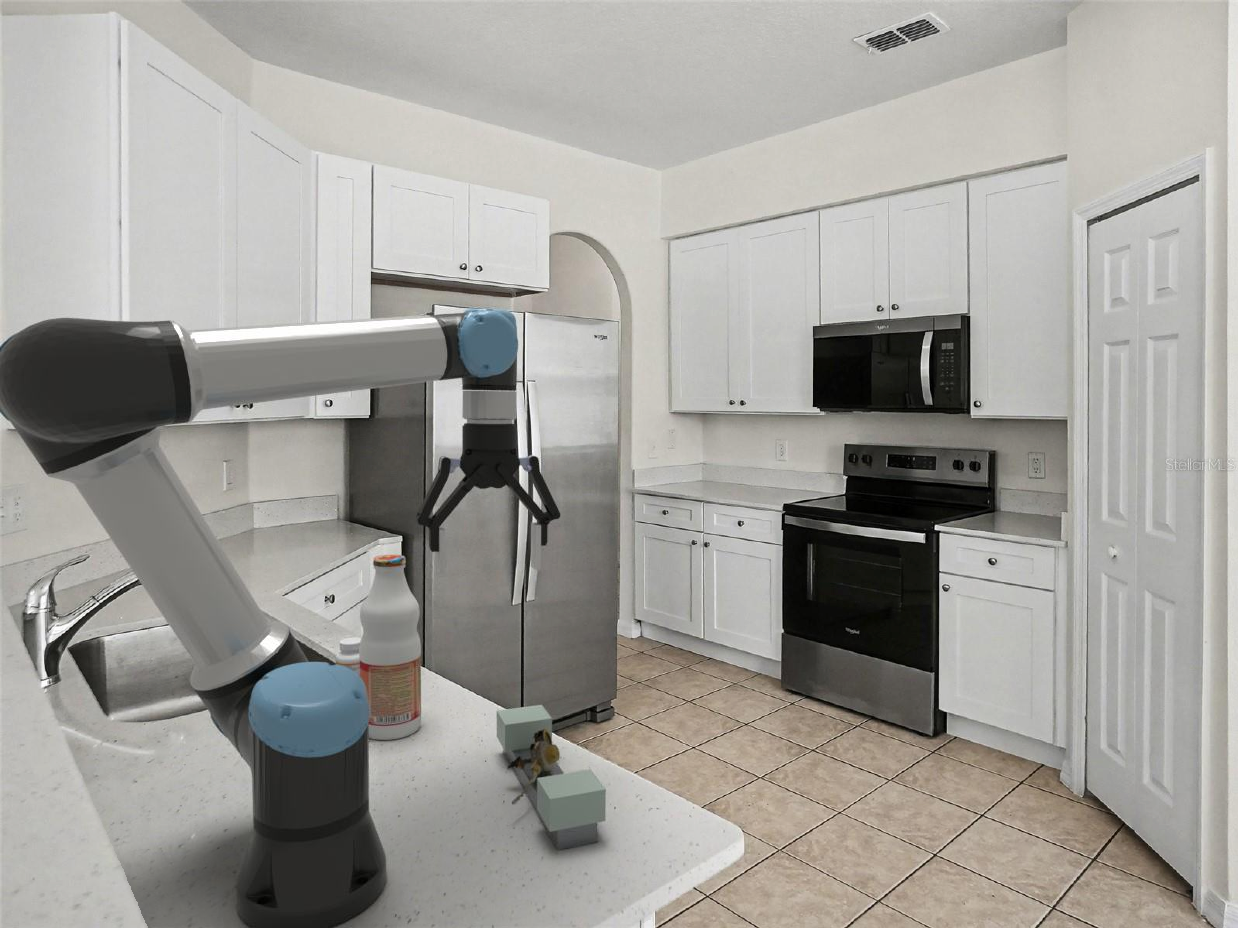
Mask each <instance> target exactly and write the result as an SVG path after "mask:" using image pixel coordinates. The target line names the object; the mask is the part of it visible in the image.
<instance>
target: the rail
mask: <svg viewBox="0 0 1238 928" xmlns="http://www.w3.org/2000/svg"><path fill="white" fill-rule="evenodd" d="M502 752H503V755H504V756H505V757H506V759H507V761H508V763H509V764H510V763H511V762H512V761H515V760H516V759H517V758H518V757H519V756H520V757H521V759H523V760H524V759H529V758H530V757H531V751H530V748H526V749H520V750H513V751H507V752H505V751H504V749H503V748H502ZM532 765H533V764H532V763H527V764H526V765H524V769H522V770H520V769H519V767H518V768H516V767H515V766H514V767H513V768H511V769H512V771H513V772H514V774H515V775H516V778H517V779H518V781H519V783H520V784H521V786H522V788H523V791H524V790H525V788H526V787H527V786H528V784H529V783H530V780H531V777H532V773H531V767H532ZM559 774H565V773H564V771H563V769H562V768H561V767H560V765H559V764H558V761H557V762H555V763H553V765H552V768H551V769H550V770H548V771H545V770H544V771H543V772H540V774H538V775H537V777H536V779H535V781H534V783H531V785H530V788H529V789H528V790H527V792H525V794H526V795H527V798H528V799H529V801H530V804H532V807H533V808H534V810H535V812H536V814H537V815H538V817H539V819H540V821H541V823H542V824H543V826H544V828H545V830H546V833H548V836H549V838H550V839H551V841H552V843H553V844H554V846H555V848H556V850H557V851H561V850H567V849H570V848H575V847H580V846H586V845H591V844H596V843H598V826H599V825H598V823H599V822H598V823H592V824H587V825H582V826H577V827H572V828H567V829H561V830H556V831H551V832H550V831H549V830H548V828H547V826H546V824H545V822H544V821H543V819H542V817H541V815H540V813H539V812H538V810H537V778H541V777H547V776H553V775H559Z"/></svg>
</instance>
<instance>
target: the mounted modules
mask: <svg viewBox="0 0 1238 928" xmlns="http://www.w3.org/2000/svg"><path fill="white" fill-rule="evenodd" d="M543 729H546V730H547V731H548V732H549V733H550V736H551V739H552V740H553V718H552V716H551V715H550V713H549V712H548V711H547V710H546V709H545V707H544V706H543V705H542V704H537V705H536V704H535V705H530V706H523V707H515V708H507V709H499V710H496V738H497V739H498V741H499V743H500V745H501V747H502V750H503V749H504V751H505V752H507V751H513V750H520V749H526V748H530V746H531V744H533V743H535V738H533V737H534V734H535V733H536V732H537V733H538V731H541V730H543ZM606 790H607V789H606V788H605V786H604V785H603V783H602V782H601V781H600V780H599V778H598V776H596V774H595V773H594V771H592V769H584V770H578V771H571V772H566V773H564V774H559V775H553V776H547V777H541V778H537V810H538V812H539V813H540V815H541V817H542V819H543V821H544V822H545V824H546V826H547V828H548V830H549V831H550V832H551V831H556V830H561V829H567V828H572V827H577V826H582V825H587V824H592V823H601V822H605V821H606V808H607V807H606V803H607V802H606V801H607V800H606V795H607V793H606Z"/></svg>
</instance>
